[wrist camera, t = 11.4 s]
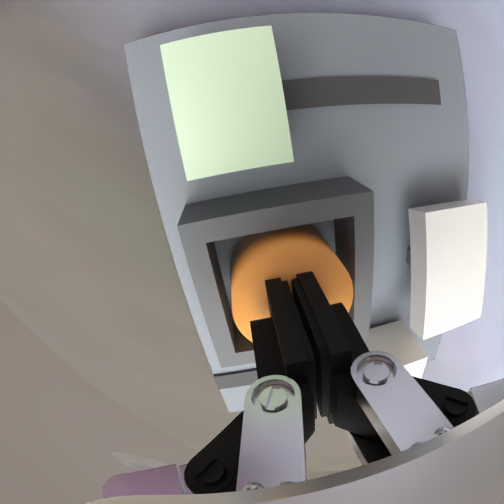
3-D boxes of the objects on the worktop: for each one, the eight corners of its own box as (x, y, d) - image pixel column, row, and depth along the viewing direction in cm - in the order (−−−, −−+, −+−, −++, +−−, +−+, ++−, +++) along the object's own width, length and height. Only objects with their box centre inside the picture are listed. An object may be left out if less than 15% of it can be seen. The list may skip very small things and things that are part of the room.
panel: (433, 34, 11) (487, 24, 7) (422, 342, 20) (449, 381, 16) (137, 52, 11) (102, 31, 7) (228, 390, 20) (231, 442, 16)
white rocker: (468, 199, 12) (486, 202, 11) (465, 307, 14) (480, 317, 12) (408, 208, 12) (425, 212, 11) (409, 327, 14) (422, 340, 12)
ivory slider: (401, 319, 16) (427, 356, 13) (392, 365, 17) (412, 401, 14) (353, 332, 16) (375, 374, 13) (350, 378, 17) (366, 417, 14)
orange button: (327, 210, 12) (353, 238, 10) (331, 298, 14) (351, 336, 12) (220, 230, 12) (219, 263, 10) (240, 317, 14) (244, 359, 12)
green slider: (258, 48, 9) (271, 25, 6) (275, 148, 11) (293, 161, 8) (176, 62, 9) (159, 45, 6) (196, 162, 11) (186, 181, 8)
